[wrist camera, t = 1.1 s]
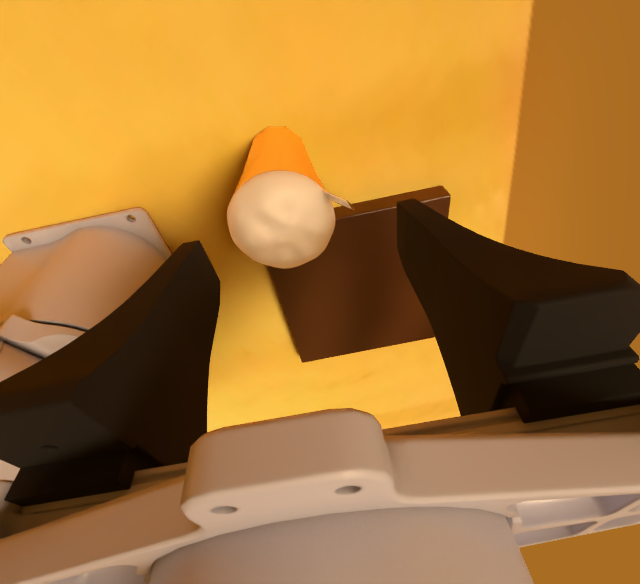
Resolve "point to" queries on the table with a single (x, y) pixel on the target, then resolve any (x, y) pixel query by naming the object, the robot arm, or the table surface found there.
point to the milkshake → (281, 203)
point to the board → (356, 284)
